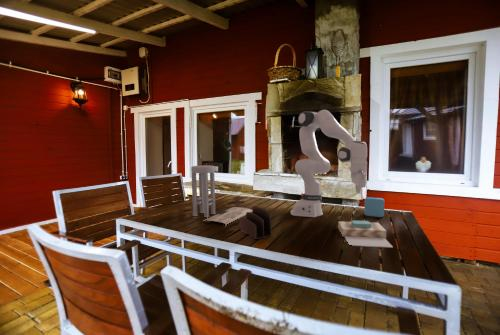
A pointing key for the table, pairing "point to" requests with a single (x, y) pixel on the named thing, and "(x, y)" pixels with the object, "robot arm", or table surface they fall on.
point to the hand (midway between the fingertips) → (358, 192)
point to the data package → (374, 207)
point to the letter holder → (256, 223)
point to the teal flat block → (361, 224)
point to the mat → (368, 242)
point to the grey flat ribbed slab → (229, 215)
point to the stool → (203, 189)
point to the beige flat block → (361, 230)
